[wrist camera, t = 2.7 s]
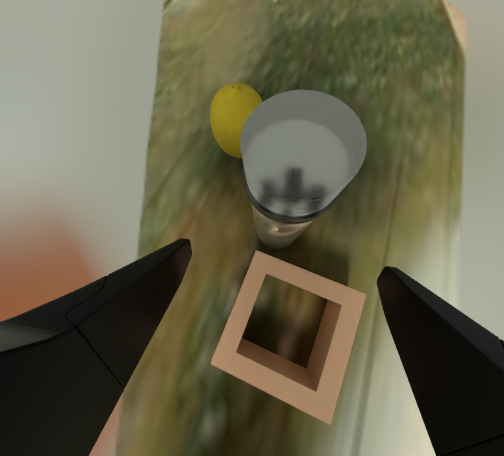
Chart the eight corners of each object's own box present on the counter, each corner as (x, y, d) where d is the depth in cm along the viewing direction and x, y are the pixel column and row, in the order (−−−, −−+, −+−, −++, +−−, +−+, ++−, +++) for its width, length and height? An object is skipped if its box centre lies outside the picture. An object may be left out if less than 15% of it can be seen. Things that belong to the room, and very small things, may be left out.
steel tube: (290, 257, 20) (349, 223, 6) (248, 240, 20) (215, 176, 7) (305, 216, 20) (386, 105, 7) (264, 201, 21) (264, 73, 8)
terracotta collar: (317, 394, 17) (330, 425, 13) (220, 346, 18) (210, 363, 15) (347, 290, 19) (366, 294, 15) (257, 254, 20) (256, 250, 16)
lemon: (270, 166, 22) (274, 109, 14) (223, 175, 22) (201, 122, 14) (263, 127, 23) (262, 54, 16) (218, 134, 24) (195, 66, 16)
